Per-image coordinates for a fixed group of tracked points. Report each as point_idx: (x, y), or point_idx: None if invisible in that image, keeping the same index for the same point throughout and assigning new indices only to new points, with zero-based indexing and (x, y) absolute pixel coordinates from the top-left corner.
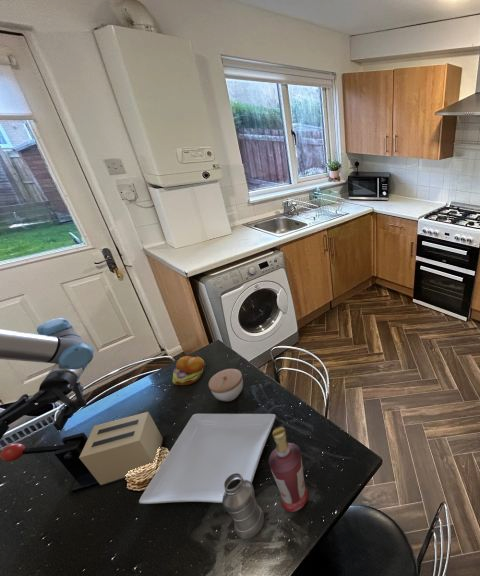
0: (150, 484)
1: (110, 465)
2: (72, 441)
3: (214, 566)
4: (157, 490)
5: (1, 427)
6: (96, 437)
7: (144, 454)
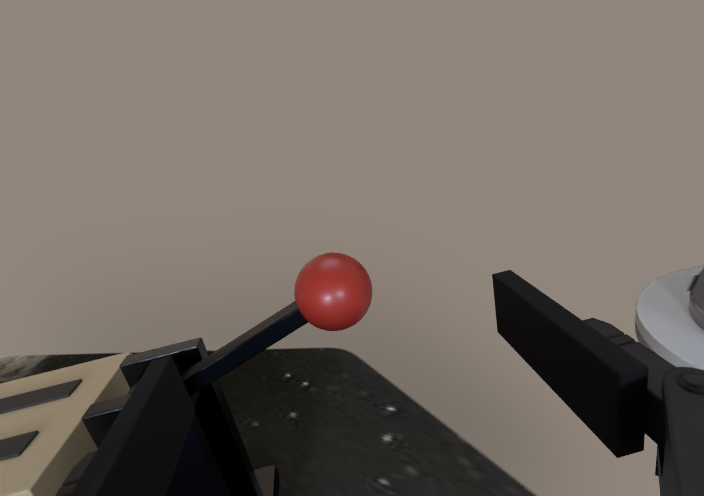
0: None
1: None
2: None
3: (46, 357)
4: None
5: (576, 361)
6: (49, 417)
7: None
